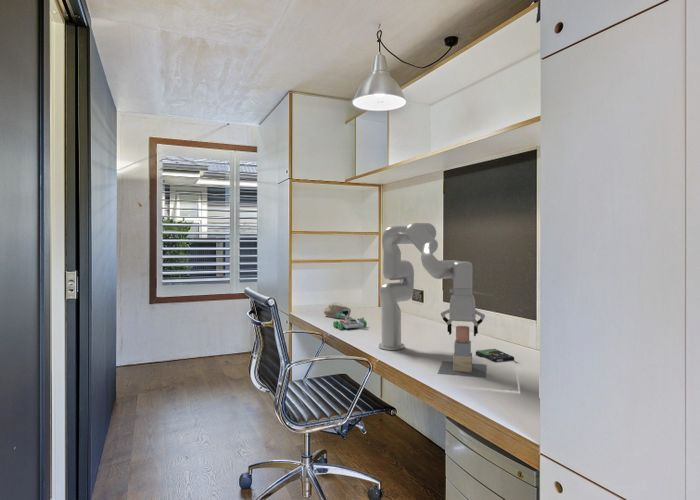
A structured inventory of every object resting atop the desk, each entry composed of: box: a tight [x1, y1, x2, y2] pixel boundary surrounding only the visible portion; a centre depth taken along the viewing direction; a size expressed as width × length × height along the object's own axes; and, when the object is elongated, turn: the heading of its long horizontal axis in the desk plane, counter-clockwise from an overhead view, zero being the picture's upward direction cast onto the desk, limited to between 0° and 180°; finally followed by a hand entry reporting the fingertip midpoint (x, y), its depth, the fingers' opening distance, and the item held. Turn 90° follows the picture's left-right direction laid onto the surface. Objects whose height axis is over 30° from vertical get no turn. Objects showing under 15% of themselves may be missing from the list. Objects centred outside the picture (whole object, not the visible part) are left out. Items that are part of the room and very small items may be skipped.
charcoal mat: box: [436, 360, 488, 379], centre depth 177 cm, size 18×18×1 cm
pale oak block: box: [452, 352, 473, 372], centre depth 177 cm, size 7×7×6 cm
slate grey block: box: [453, 339, 472, 357], centre depth 176 cm, size 6×6×5 cm
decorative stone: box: [323, 302, 352, 320], centre depth 297 cm, size 20×8×10 cm, turn 52°
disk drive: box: [475, 348, 515, 363], centre depth 195 cm, size 10×3×15 cm
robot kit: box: [333, 310, 368, 331], centre depth 269 cm, size 19×25×9 cm
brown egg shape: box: [455, 325, 470, 343], centre depth 176 cm, size 5×5×6 cm
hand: (462, 334), depth 176 cm, fingers open, 9 cm apart
